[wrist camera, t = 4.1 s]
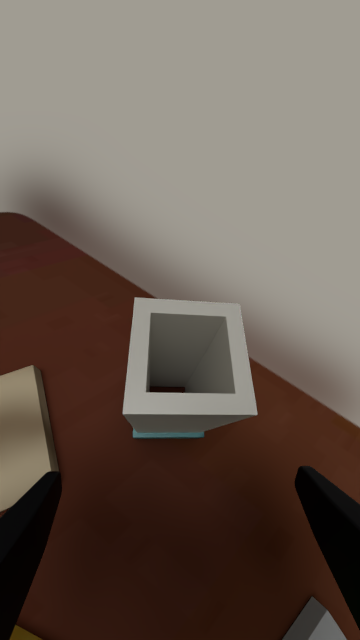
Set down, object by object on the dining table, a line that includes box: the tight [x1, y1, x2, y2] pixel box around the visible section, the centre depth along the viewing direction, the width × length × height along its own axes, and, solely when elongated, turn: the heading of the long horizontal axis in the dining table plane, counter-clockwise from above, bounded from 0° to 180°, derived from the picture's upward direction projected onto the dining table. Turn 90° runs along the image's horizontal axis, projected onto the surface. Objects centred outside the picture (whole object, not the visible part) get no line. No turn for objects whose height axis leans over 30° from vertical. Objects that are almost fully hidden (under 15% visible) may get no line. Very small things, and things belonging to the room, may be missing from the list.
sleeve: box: [123, 298, 258, 439], centre depth 14 cm, size 5×5×13 cm
